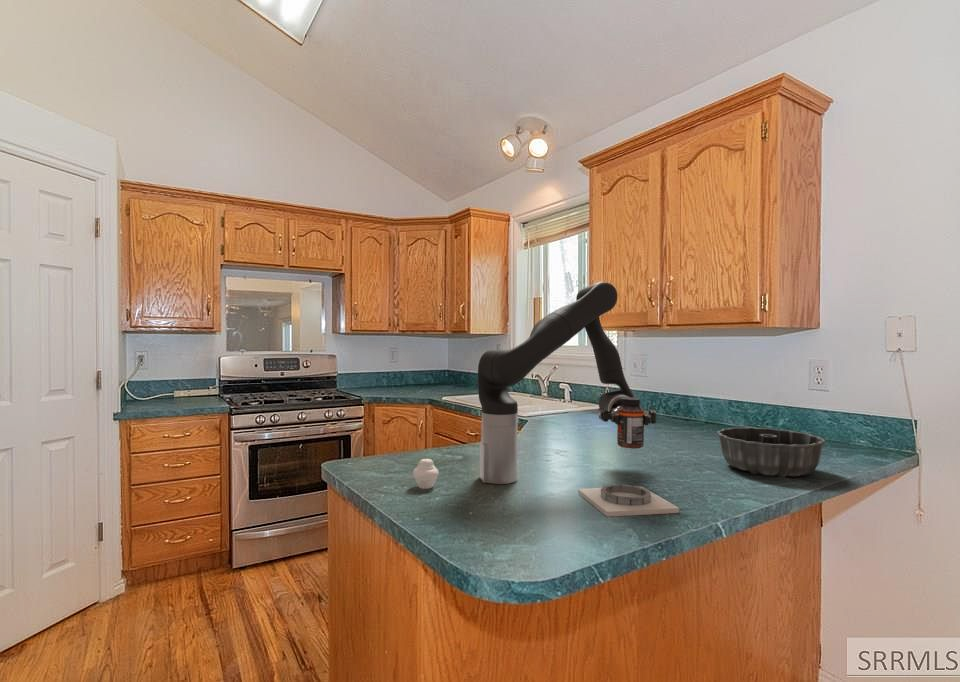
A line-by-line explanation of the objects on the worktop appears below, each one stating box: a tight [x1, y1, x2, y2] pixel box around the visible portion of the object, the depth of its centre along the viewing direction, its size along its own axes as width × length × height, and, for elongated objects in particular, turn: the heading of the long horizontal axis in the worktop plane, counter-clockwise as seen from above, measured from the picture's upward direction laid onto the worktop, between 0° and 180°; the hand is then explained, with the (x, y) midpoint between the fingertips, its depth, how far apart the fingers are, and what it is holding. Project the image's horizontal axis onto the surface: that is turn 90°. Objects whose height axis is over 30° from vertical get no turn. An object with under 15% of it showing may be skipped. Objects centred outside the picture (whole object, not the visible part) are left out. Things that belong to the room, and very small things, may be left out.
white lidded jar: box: [412, 458, 440, 490], centre depth 121 cm, size 6×6×7 cm
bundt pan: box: [716, 427, 826, 478], centre depth 142 cm, size 26×26×10 cm
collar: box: [601, 483, 652, 506], centre depth 111 cm, size 10×10×2 cm
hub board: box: [577, 486, 680, 518], centre depth 111 cm, size 16×16×1 cm
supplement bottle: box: [616, 397, 645, 450], centre depth 117 cm, size 6×6×11 cm
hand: (632, 420), depth 115 cm, fingers closed on supplement bottle, 6 cm apart
